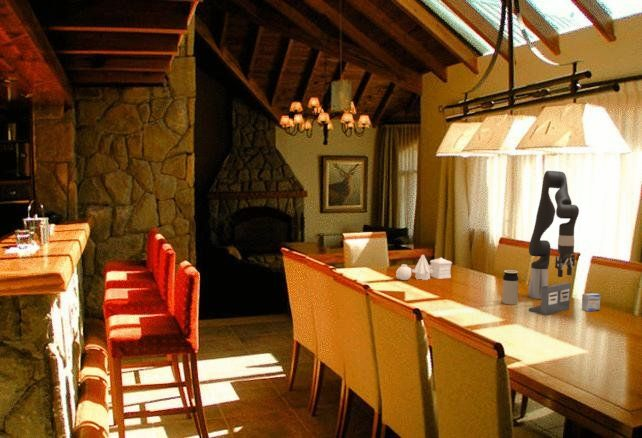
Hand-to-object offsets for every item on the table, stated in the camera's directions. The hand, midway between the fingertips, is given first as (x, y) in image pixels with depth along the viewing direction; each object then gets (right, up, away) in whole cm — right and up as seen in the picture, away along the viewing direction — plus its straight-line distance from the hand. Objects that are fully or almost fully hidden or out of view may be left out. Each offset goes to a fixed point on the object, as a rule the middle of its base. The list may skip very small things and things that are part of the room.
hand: (564, 276), depth 299 cm
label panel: (-2, -19, +13) cm, 23 cm away
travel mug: (-19, -18, +28) cm, 38 cm away
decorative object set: (-55, -11, +100) cm, 115 cm away
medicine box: (+20, -20, +14) cm, 31 cm away
